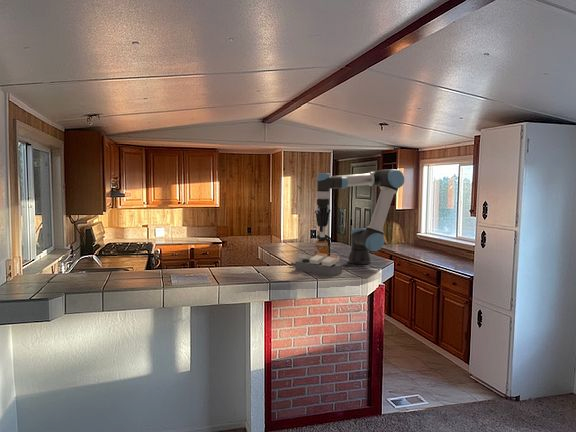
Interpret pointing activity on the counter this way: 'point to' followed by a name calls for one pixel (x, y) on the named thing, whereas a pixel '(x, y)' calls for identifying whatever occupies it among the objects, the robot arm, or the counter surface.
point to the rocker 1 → (305, 256)
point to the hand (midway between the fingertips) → (322, 237)
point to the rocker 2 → (318, 258)
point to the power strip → (317, 267)
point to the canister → (323, 245)
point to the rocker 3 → (330, 260)
